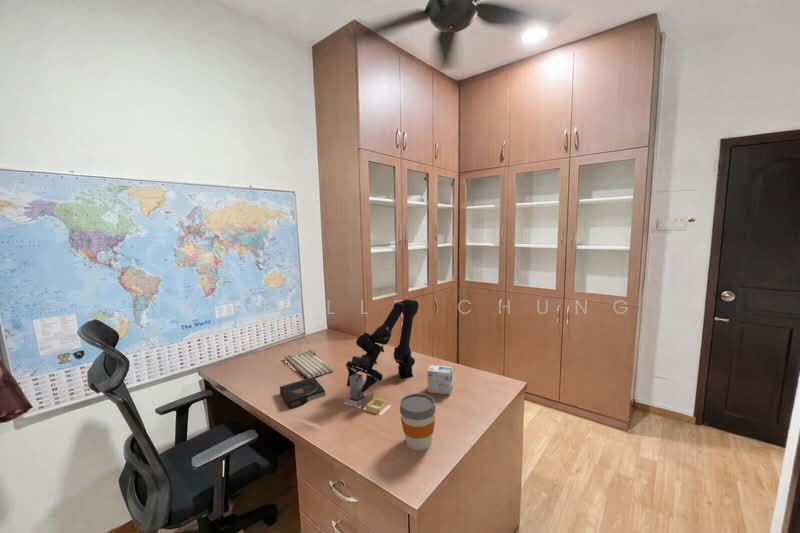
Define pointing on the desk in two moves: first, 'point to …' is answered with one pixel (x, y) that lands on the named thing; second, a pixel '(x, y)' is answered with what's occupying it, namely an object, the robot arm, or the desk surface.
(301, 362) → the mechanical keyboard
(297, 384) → the portable cd player
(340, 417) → the desk surface
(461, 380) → the desk surface
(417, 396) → the reusable coffee cup
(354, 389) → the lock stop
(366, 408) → the board
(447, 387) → the light bulb box
